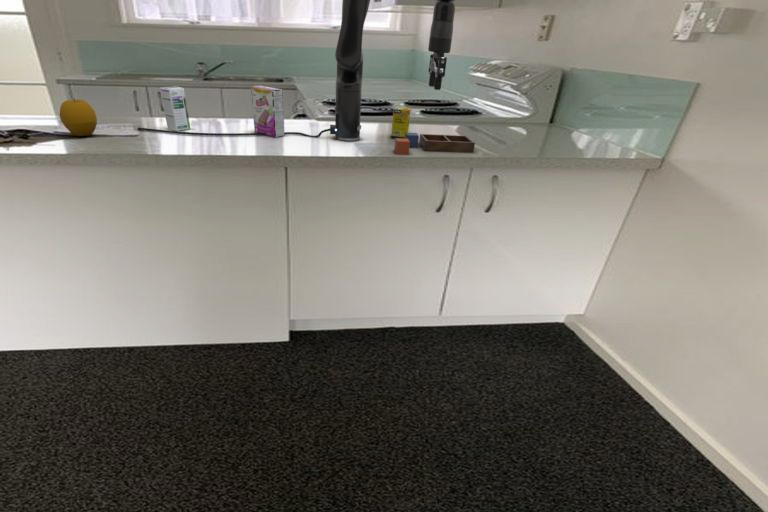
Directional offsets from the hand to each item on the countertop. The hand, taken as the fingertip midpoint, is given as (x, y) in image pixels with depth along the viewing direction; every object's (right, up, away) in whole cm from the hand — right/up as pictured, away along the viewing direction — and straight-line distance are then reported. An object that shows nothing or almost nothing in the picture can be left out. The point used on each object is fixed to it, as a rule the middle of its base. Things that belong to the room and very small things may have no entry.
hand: (434, 88), depth 149 cm
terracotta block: (-12, -24, -3) cm, 27 cm away
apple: (-117, -20, -11) cm, 119 cm away
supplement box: (-12, -13, +18) cm, 25 cm away
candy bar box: (-61, -14, +8) cm, 63 cm away
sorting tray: (+5, -20, +7) cm, 21 cm away
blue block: (-8, -19, +6) cm, 22 cm away
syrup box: (-94, -13, +6) cm, 95 cm away
